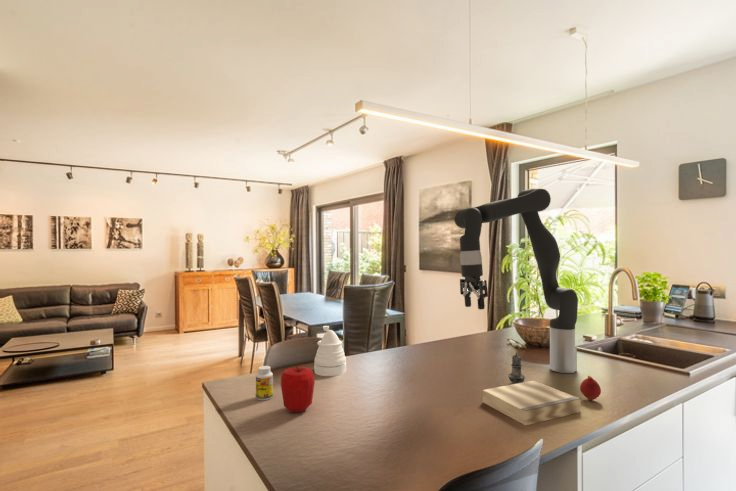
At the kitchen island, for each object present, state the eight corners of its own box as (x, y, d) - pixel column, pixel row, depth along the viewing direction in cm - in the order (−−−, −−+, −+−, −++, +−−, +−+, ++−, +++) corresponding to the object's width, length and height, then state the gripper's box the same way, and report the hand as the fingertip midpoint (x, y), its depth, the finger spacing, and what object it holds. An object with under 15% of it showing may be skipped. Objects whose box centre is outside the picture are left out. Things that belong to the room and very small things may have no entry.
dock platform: (533, 391, 136) (533, 379, 136) (580, 412, 120) (580, 398, 120) (482, 402, 127) (482, 389, 127) (525, 425, 111) (525, 410, 111)
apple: (298, 419, 115) (298, 373, 115) (273, 412, 121) (273, 367, 121) (321, 407, 124) (321, 364, 124) (297, 400, 130) (296, 359, 130)
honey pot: (308, 374, 157) (308, 328, 157) (323, 364, 169) (323, 322, 169) (337, 377, 152) (337, 331, 152) (351, 368, 164) (351, 324, 164)
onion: (598, 398, 130) (598, 373, 130) (602, 404, 125) (602, 379, 125) (578, 396, 132) (578, 372, 132) (582, 402, 127) (581, 377, 127)
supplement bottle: (252, 400, 130) (252, 369, 130) (261, 394, 136) (261, 364, 136) (267, 402, 129) (267, 370, 129) (276, 395, 134) (276, 365, 134)
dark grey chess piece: (526, 389, 139) (526, 355, 139) (509, 388, 140) (509, 354, 140) (523, 383, 145) (523, 350, 145) (506, 382, 146) (506, 350, 146)
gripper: (491, 262, 138) (495, 309, 137) (469, 262, 151) (472, 304, 151) (473, 264, 135) (476, 311, 135) (452, 263, 149) (455, 306, 149)
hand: (474, 307), depth 143 cm, fingers open, 8 cm apart
